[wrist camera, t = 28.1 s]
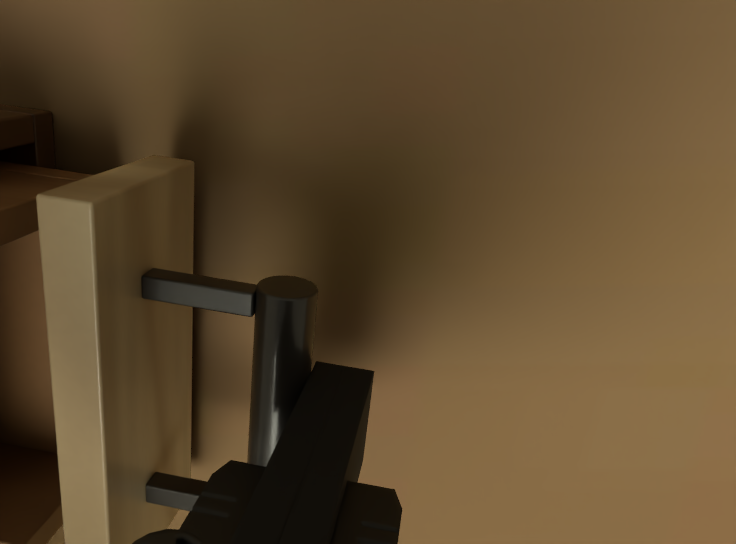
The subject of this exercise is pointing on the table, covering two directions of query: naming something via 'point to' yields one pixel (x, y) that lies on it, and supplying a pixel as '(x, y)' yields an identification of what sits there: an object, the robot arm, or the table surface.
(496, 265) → the table surface
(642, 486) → the table surface
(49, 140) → the cabinet
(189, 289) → the drawer
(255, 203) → the table surface
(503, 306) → the table surface
